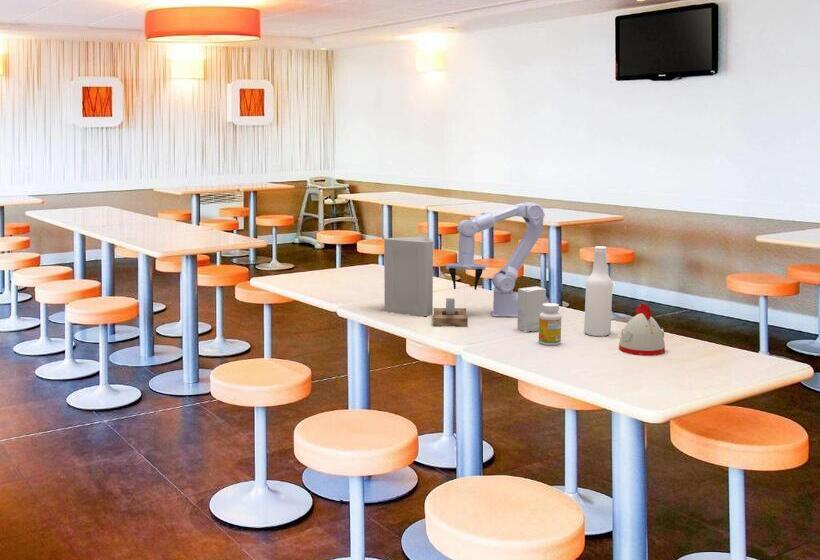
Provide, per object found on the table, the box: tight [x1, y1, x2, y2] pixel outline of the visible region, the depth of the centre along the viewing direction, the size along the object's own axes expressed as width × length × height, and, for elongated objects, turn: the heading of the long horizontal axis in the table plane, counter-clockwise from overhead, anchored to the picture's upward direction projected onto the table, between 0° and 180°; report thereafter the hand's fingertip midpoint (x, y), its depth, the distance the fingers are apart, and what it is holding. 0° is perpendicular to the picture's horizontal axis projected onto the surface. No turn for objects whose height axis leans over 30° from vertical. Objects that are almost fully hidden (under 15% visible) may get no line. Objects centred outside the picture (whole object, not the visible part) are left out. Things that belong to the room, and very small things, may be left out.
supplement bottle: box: [538, 302, 562, 346], centre depth 281 cm, size 7×7×13 cm
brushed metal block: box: [445, 297, 456, 315], centre depth 314 cm, size 3×5×8 cm, turn 178°
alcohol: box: [583, 245, 614, 337], centre depth 293 cm, size 9×9×30 cm
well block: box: [433, 307, 469, 328], centre depth 314 cm, size 12×18×3 cm, turn 178°
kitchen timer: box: [618, 302, 666, 357], centre depth 272 cm, size 14×14×15 cm
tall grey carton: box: [383, 236, 434, 317], centre depth 330 cm, size 19×15×28 cm
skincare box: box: [517, 285, 547, 333], centre depth 299 cm, size 8×6×15 cm
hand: (465, 288), depth 321 cm, fingers open, 7 cm apart
